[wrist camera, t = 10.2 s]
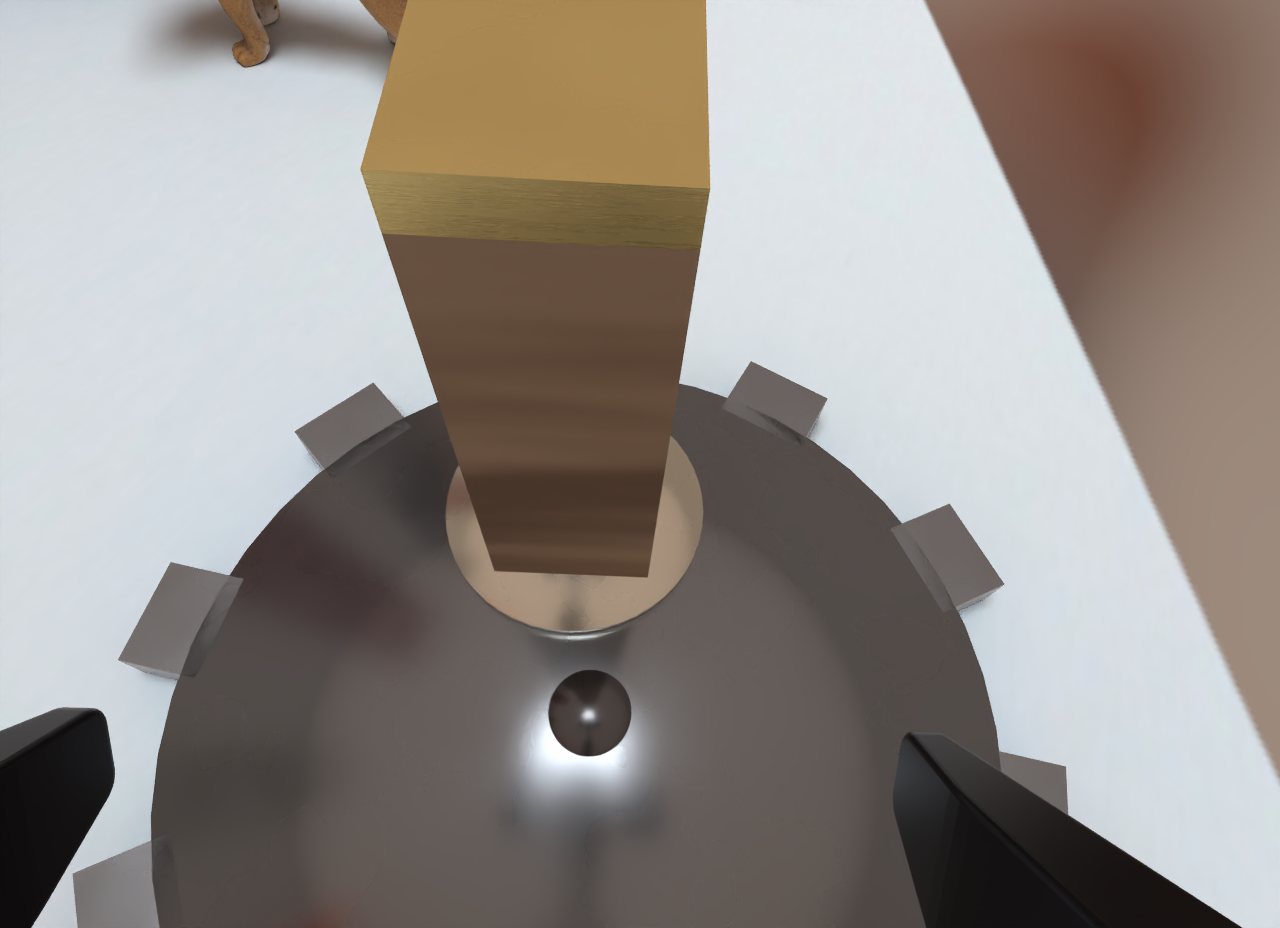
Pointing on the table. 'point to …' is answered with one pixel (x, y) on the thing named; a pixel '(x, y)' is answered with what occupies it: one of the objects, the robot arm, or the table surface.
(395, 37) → the lion figurine
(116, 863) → the sprocket plate
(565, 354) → the gold-topped wooden block
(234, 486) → the table surface
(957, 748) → the robot arm
